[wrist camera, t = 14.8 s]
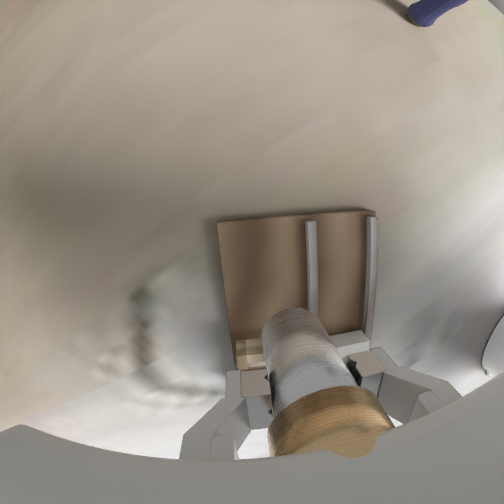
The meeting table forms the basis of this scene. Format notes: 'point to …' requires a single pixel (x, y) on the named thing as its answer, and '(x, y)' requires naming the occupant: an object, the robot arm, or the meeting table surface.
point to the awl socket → (249, 352)
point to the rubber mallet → (430, 10)
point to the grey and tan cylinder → (315, 391)
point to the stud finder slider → (350, 343)
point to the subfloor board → (300, 271)
